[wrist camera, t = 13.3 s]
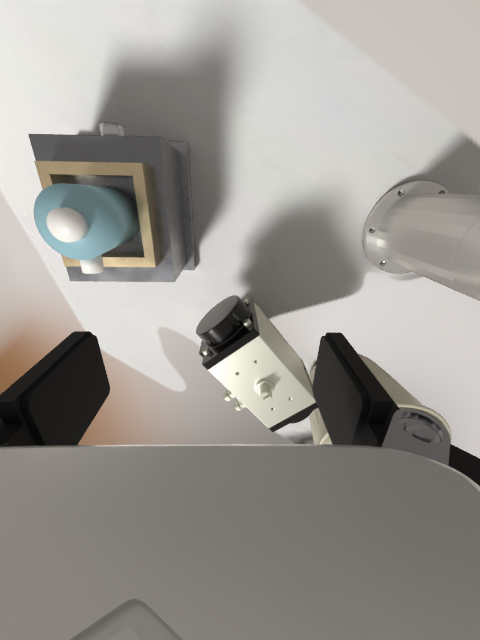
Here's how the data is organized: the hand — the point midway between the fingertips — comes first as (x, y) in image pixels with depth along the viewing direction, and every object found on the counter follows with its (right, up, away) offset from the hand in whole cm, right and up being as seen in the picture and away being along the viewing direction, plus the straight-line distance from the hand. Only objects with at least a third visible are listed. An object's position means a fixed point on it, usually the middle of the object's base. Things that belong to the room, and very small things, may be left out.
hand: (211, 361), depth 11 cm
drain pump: (-12, +13, +16) cm, 24 cm away
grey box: (-12, +17, +25) cm, 33 cm away
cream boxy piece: (+3, +1, +34) cm, 34 cm away
